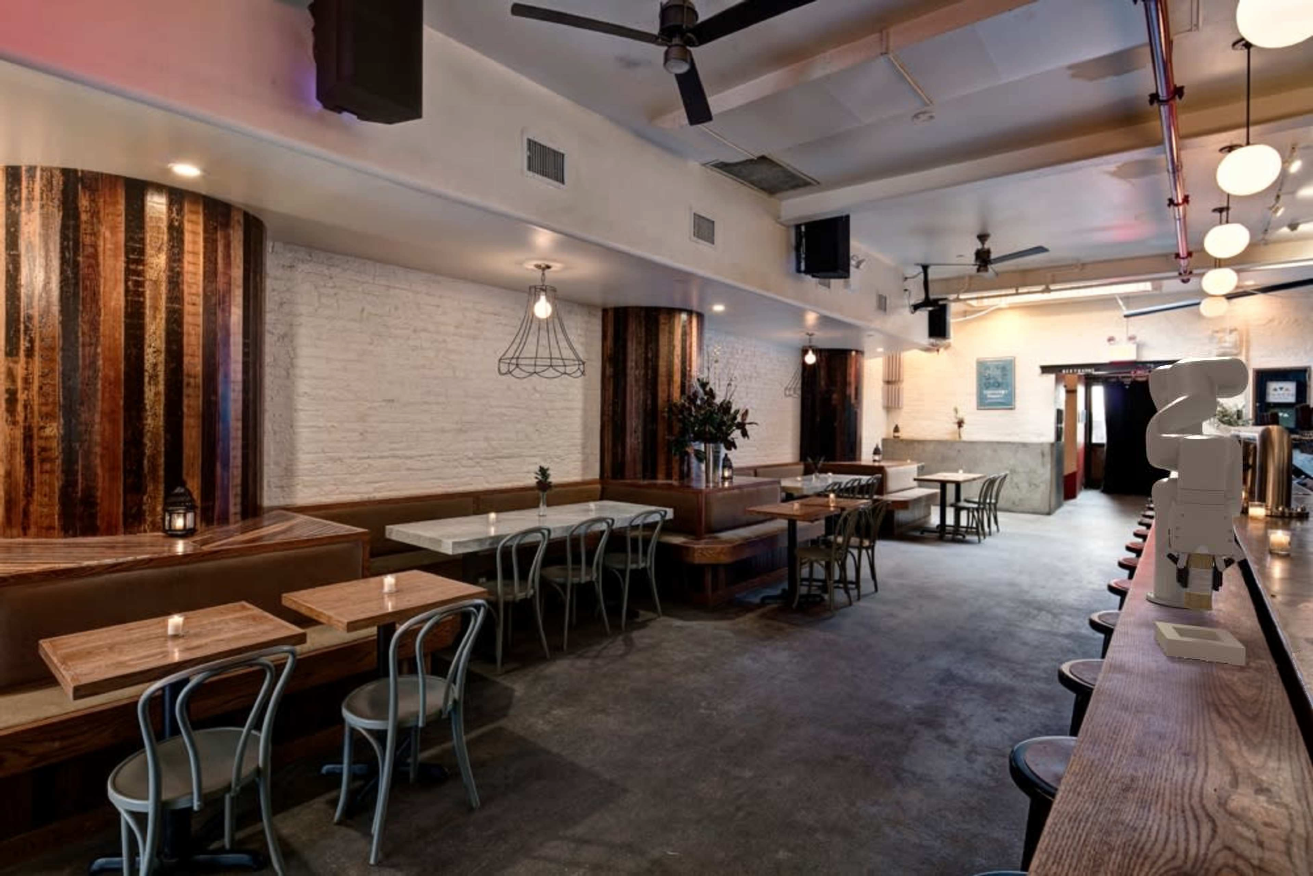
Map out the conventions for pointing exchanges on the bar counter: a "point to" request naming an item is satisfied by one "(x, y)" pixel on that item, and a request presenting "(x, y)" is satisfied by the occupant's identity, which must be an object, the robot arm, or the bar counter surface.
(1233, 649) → the collar
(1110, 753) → the bar counter surface
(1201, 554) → the sprinkles bottle
